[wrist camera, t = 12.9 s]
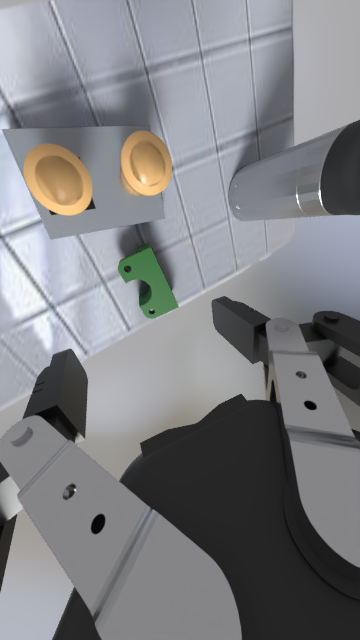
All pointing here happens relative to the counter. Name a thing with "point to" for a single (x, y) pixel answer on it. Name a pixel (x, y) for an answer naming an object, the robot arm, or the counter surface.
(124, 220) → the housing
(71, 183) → the tan peg
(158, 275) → the clamp
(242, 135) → the counter surface
